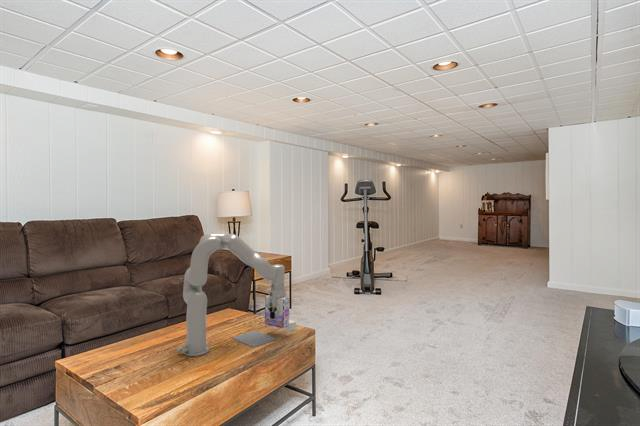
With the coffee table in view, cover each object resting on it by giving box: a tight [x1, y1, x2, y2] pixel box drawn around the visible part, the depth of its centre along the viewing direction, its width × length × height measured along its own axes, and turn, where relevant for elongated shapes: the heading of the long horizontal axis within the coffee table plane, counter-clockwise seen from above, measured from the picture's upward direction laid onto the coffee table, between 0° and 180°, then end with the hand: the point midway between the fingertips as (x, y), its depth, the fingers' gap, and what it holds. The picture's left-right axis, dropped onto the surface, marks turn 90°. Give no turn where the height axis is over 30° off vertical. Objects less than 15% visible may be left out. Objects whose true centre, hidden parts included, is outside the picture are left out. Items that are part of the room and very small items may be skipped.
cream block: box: [283, 319, 297, 333], centre depth 216 cm, size 5×5×5 cm
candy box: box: [264, 295, 291, 329], centre depth 206 cm, size 14×6×16 cm, turn 58°
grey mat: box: [231, 330, 278, 348], centre depth 200 cm, size 16×20×1 cm
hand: (276, 317), depth 206 cm, fingers closed on candy box, 6 cm apart
